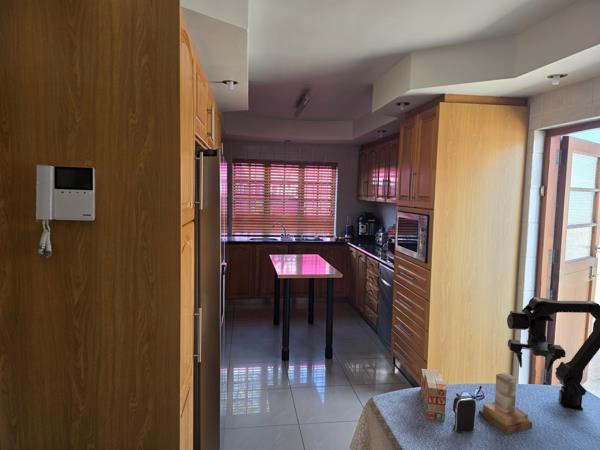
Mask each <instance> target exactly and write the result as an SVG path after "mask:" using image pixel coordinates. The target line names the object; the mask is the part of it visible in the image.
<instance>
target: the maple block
mask: <svg viewBox="0 0 600 450" xmlns="http://www.w3.org/2000/svg"><path fill="white" fill-rule="evenodd" d="M482 406H483V407H482V409H483V411H484V412H485V413H487V414H488V415H490V416H491V417H492V418H494V419H495V420H497V421H498V422H500V423H501V424H502V425H504V426H509V425H514V424H518V423H523V422H527V420H529V417H528V416H529V415H528V413H526V412H524V411H523V410H521V409H519V408H518V407H516V406H515V411H513V412H508V413H504V412H502V411H501V410H499V409H498V408H496V407H495V401H494V402H488V403H484V404H483V405H482Z"/></svg>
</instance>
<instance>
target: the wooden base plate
mask: <svg viewBox="0 0 600 450" xmlns="http://www.w3.org/2000/svg"><path fill="white" fill-rule="evenodd" d="M478 416H479V417H481V418H482V419H484V420H485V421H486V422H488V423H489V424H490V425H492V426H493V427H495V428H496V429H497V430H499V431H500V432H502V433H503V434H505V435H509V434H513V433H516V432H521V431H525V430H528V429H531V428H533V422H532V421H531V420H529V419H528V420H527V422H523V423H518V424H514V425H509V426H504V425H502V424H501V423H500V422H498V421H497V420H495V419H494V418H492V417H491V416H490V415H488V414H487V413H485V412H484V411H483V408H482V409H479V410H478Z"/></svg>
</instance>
